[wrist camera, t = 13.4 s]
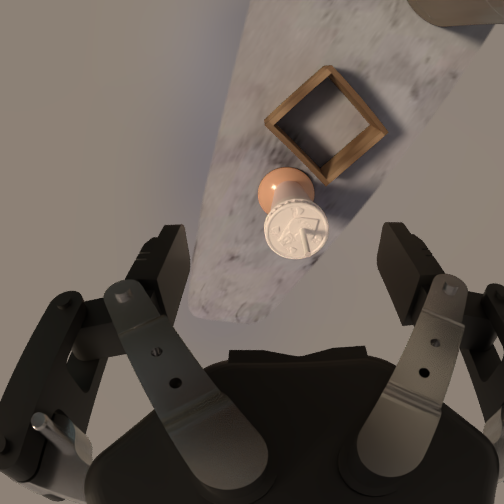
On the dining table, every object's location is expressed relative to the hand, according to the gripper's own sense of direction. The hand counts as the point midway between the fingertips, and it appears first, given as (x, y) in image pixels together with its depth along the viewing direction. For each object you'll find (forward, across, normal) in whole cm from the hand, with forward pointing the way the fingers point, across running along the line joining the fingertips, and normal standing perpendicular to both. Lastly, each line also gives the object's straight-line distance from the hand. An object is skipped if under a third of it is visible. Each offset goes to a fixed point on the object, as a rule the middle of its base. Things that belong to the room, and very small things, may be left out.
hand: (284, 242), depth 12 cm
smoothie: (+26, -2, +9) cm, 27 cm away
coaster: (+26, -2, +9) cm, 28 cm away
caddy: (+26, -6, 0) cm, 27 cm away
